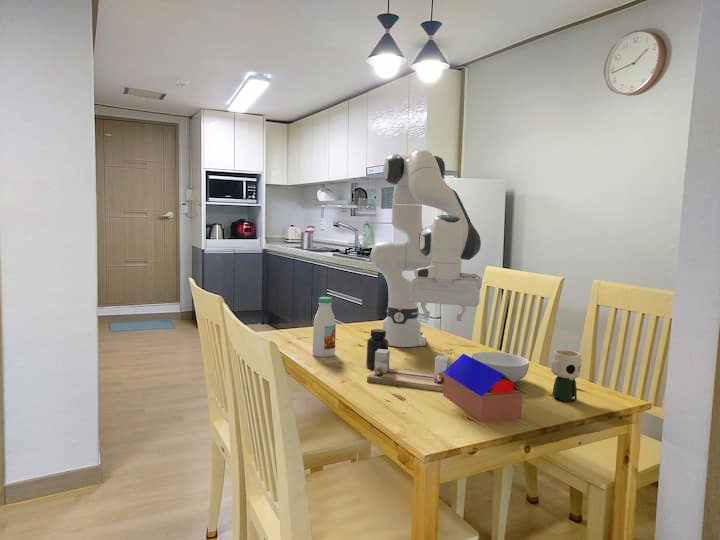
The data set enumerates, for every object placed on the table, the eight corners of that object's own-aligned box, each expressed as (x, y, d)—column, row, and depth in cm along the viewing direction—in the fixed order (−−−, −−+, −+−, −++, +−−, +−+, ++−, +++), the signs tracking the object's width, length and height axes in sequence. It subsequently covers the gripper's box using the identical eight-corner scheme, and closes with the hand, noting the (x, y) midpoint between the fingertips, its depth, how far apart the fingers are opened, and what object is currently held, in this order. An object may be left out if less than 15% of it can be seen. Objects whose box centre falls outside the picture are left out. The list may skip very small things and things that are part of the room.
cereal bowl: (539, 385, 158) (541, 362, 157) (498, 393, 150) (499, 368, 149) (498, 370, 173) (500, 348, 172) (458, 376, 165) (460, 353, 164)
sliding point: (436, 375, 159) (437, 355, 158) (448, 376, 158) (449, 356, 157) (432, 381, 152) (433, 360, 152) (444, 382, 151) (445, 362, 151)
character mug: (560, 405, 141) (563, 357, 140) (539, 397, 147) (543, 351, 146) (588, 400, 146) (592, 354, 145) (568, 392, 152) (571, 348, 151)
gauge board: (377, 371, 166) (378, 347, 166) (464, 382, 158) (466, 356, 158) (367, 381, 156) (368, 355, 155) (460, 393, 148) (461, 366, 147)
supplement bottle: (385, 370, 168) (387, 333, 166) (364, 369, 169) (365, 331, 168) (388, 365, 174) (390, 329, 173) (368, 363, 176) (369, 327, 174)
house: (480, 392, 150) (482, 352, 149) (522, 419, 131) (525, 373, 130) (441, 396, 146) (443, 354, 145) (479, 423, 127) (482, 376, 126)
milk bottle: (315, 358, 180) (316, 299, 178) (310, 352, 187) (311, 296, 185) (337, 357, 182) (339, 299, 180) (331, 351, 189) (333, 295, 187)
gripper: (483, 273, 154) (480, 320, 155) (413, 268, 160) (411, 314, 161) (481, 275, 148) (478, 324, 149) (408, 270, 154) (406, 317, 155)
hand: (442, 319), depth 155 cm, fingers open, 8 cm apart
